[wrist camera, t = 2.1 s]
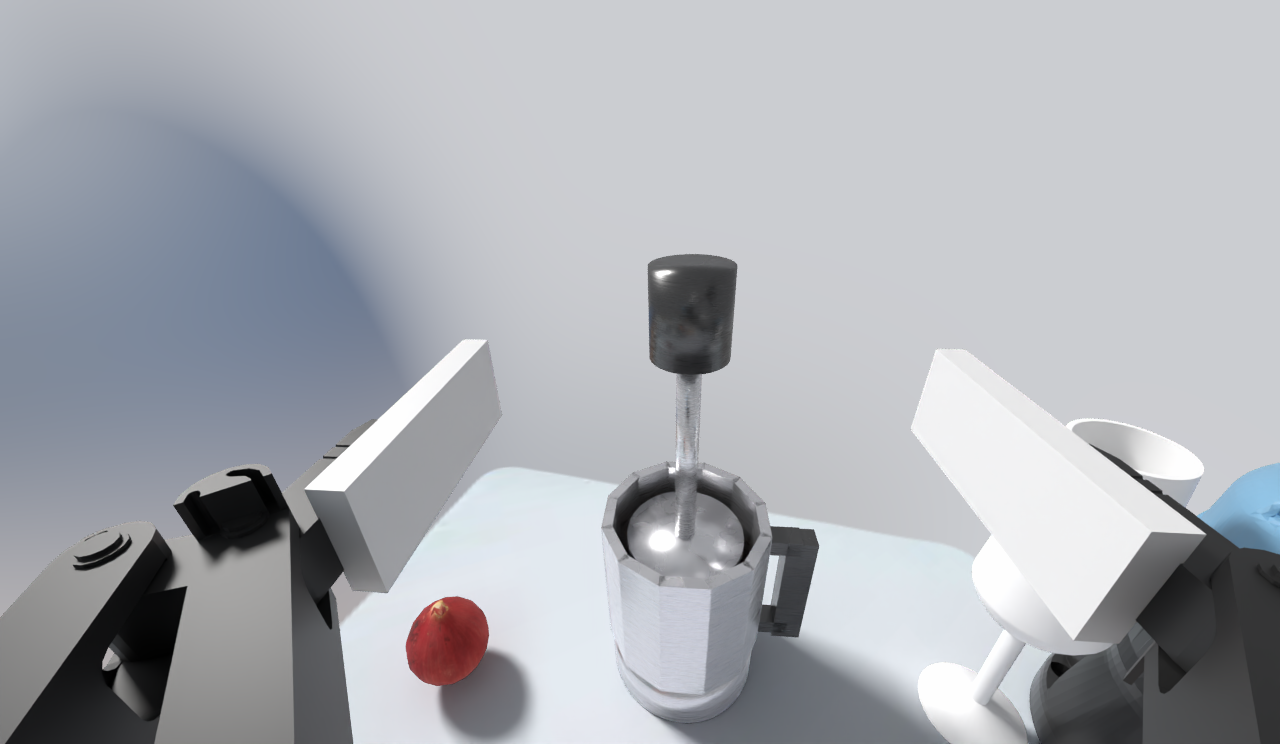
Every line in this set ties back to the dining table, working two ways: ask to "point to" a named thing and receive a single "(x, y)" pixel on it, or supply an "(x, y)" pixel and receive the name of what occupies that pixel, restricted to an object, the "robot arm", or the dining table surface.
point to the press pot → (699, 600)
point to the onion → (447, 641)
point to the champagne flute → (1036, 601)
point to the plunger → (688, 416)
